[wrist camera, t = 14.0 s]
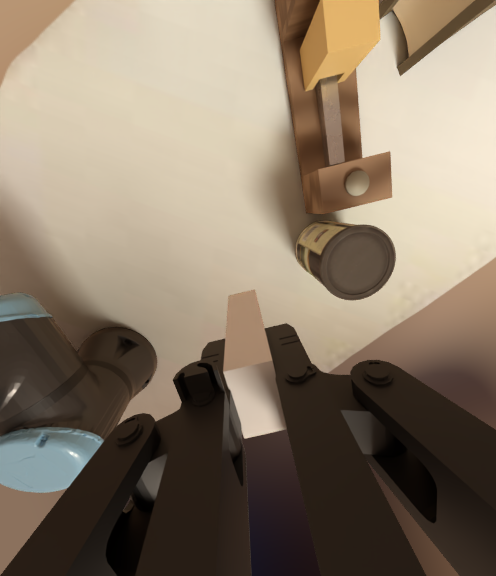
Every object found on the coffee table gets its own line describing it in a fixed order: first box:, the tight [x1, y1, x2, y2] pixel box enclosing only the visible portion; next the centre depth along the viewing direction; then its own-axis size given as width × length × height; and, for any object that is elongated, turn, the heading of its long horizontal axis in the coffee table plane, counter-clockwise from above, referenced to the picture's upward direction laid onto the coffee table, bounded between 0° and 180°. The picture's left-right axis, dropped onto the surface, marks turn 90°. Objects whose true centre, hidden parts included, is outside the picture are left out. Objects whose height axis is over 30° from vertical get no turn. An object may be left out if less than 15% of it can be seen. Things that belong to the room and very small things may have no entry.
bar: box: [316, 75, 345, 167], centre depth 36 cm, size 17×2×2 cm, turn 13°
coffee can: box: [295, 221, 396, 300], centre depth 39 cm, size 10×10×14 cm
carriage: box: [300, 0, 380, 91], centre depth 31 cm, size 5×6×9 cm
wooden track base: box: [275, 0, 392, 214], centre depth 34 cm, size 30×10×10 cm, turn 13°
